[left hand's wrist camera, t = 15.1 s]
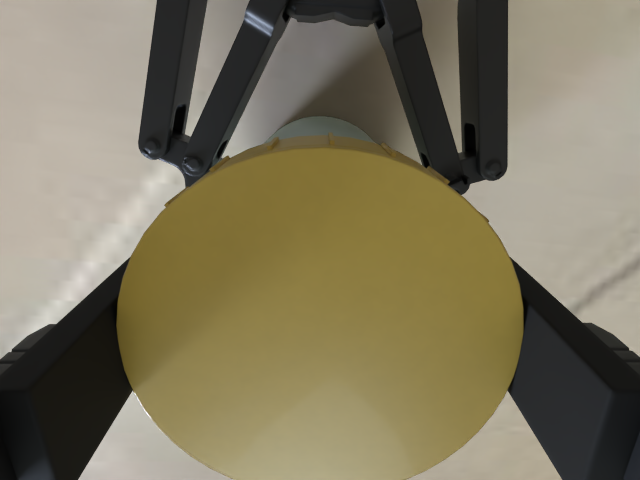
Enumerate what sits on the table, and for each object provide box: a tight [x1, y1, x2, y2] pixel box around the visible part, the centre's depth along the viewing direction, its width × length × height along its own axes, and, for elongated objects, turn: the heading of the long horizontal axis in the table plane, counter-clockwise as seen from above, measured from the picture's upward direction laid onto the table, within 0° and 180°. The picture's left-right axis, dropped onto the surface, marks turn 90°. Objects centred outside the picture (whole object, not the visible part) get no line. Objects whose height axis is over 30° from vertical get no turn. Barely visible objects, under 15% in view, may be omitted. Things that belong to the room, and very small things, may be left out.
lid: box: [116, 132, 524, 480], centre depth 11 cm, size 10×10×2 cm
